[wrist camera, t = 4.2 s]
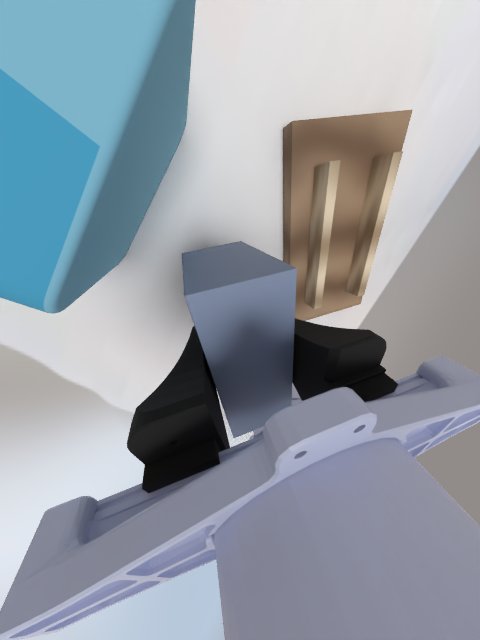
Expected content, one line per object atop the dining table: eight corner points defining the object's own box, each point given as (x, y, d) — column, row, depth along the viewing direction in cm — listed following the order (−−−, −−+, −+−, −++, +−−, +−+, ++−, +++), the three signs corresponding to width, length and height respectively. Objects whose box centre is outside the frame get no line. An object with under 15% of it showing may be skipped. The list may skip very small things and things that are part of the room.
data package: (122, 60, 11) (-245, -925, 2) (187, 128, 14) (207, -90, 4) (62, 229, 15) (-184, 265, 5) (122, 261, 17) (43, 330, 7)
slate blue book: (254, 349, 18) (290, 415, 12) (215, 361, 17) (233, 438, 11) (240, 241, 12) (296, 268, 6) (181, 253, 11) (184, 296, 6)
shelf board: (352, 300, 28) (372, 309, 25) (283, 320, 26) (296, 333, 23) (395, 117, 17) (439, 97, 14) (283, 128, 15) (307, 109, 12)
